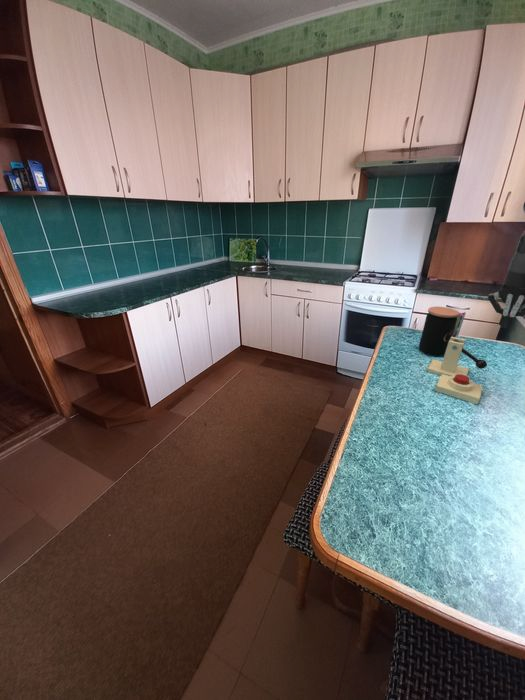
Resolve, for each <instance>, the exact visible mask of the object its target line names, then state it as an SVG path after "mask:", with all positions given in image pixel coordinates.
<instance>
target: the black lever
mask: <svg viewBox="0 0 525 700" xmlns="http://www.w3.org/2000/svg"><path fill="white" fill-rule="evenodd" d="M454 342H459V341H457V340H456V339H455V340H454ZM459 343H460V342H459ZM461 353H463V355H465V356H466V357H468V358H469V359H470V360H472V361H473V362H474V363H475V366H476V368H478V369H481V370H482V369H485V368H487V367H488V362H487V360H485V359H482V358H481V359H479V358H477V357H476V356H474V355H473V354H472V353H471V352H469V351H468V350H467V349H466V348H464V347H463V348H462V351H461Z"/></svg>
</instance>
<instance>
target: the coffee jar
mask: <svg viewBox="0 0 525 700" xmlns="http://www.w3.org/2000/svg"><path fill="white" fill-rule="evenodd" d="M456 310H457V309H454V308H451V307H447V306H446V307H445V306H439V307H437V306H431V307H428V309H427V312H428V313H427V314H426V316H425V320H424V324H423V328H422V332H421V337H420V340H419V343H418V348H419V351H420V352H421V353H423V354H425V355H427V356H430V357H431V356H432V357H444V356H445V352H446V349H447V346H448V342H449V340H450V339H451V337H452V335H453V332H454V329H455V325H456V322H457V316H458V315H459V312H458V311H459V310H458V311H456Z"/></svg>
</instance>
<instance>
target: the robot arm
mask: <svg viewBox="0 0 525 700" xmlns="http://www.w3.org/2000/svg"><path fill="white" fill-rule="evenodd" d="M522 210H523V213H524V214H525V201H524V203H523V205H522ZM499 298H500V299H501V301H502V303H503V304H504V307H502V306H501V304H500V303H499ZM487 299H488V301H489V303H490V304H491V306H492V308H493V309H494V311H495V313H497V314H499V315H501V317H500V320H499V322H498V326H500V328H501V329H502V328H503V329H508V328H510V327H511V326H512V324H513V321H514V319H515V318H516V317H523V316H525V307H524V308H522V309H520V307H521V306H524V305H525V230H523V232H522V233H521V235H520V237H519V240H518V244H517V246H516V249H515V252H514V254H513V256H512V258H511V260H510V263H509V264H508V269H507V272H506V274H505V277H504V280H503V283H502V285H501V287H499V289H498V291H496V292H492V293H489V294H488V296H487ZM511 305H512V308H511ZM510 308H511V310H510ZM519 309H520V310H519ZM509 311H510V312H509Z"/></svg>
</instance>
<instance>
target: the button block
mask: <svg viewBox="0 0 525 700" xmlns="http://www.w3.org/2000/svg"><path fill="white" fill-rule="evenodd" d="M454 378H455V375H453V376H447V375H443V374H442V375H440V377H439V379H438V381H437V383H436V385H435V388H434V391H435V392H437V393H441V394H442V395H443V394H444V395H447V396H450V397H453V398H456V399H459V400H463V401H466V402H468V403H472V404H475V405H479V402H480V400H481V396H482V391H483V387H484V386H483V384H482V385H481V384H478V383H474V381H473V380H472V379H470V380H469V383H468V385H461V384H458V383H456V382H454Z"/></svg>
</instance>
